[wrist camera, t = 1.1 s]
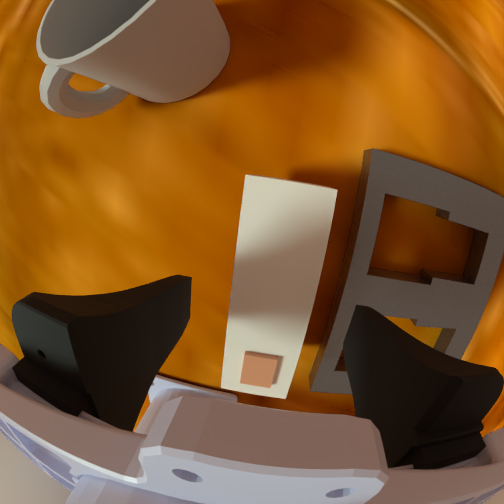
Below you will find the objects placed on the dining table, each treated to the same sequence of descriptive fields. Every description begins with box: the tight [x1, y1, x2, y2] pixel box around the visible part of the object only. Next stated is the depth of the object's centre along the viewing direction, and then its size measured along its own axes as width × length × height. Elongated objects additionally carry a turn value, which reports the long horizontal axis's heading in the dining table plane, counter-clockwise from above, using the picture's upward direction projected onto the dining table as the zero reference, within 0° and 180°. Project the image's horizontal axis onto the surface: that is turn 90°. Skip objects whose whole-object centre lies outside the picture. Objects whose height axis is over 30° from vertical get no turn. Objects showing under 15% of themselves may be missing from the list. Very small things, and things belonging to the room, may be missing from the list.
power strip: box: [221, 175, 338, 399], centre depth 14 cm, size 11×4×5 cm, turn 172°
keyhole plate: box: [309, 148, 504, 394], centre depth 15 cm, size 16×12×2 cm
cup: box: [36, 0, 230, 118], centre depth 9 cm, size 7×10×9 cm
